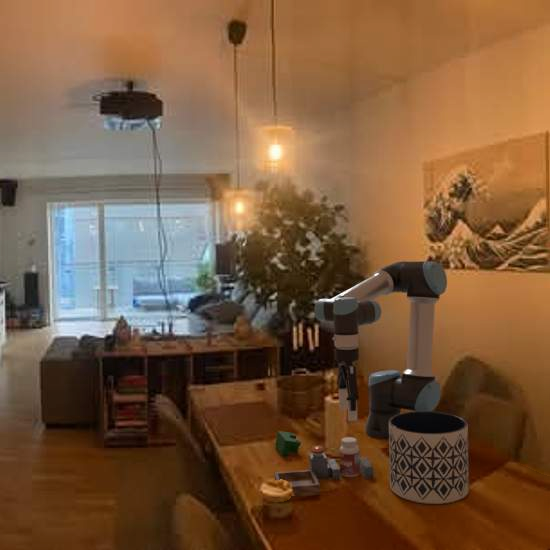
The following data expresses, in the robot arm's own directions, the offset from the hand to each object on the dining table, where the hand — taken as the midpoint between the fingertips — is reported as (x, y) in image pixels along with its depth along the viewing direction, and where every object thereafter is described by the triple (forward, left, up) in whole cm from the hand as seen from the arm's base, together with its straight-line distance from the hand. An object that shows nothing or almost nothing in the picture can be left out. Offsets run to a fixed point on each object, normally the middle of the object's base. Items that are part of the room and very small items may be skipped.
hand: (348, 414), depth 200 cm
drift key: (+10, 0, -17) cm, 20 cm away
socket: (+3, 0, -19) cm, 19 cm away
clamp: (+16, -25, -19) cm, 36 cm away
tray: (+18, +8, -19) cm, 27 cm away
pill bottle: (0, 0, -19) cm, 19 cm away
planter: (-20, +16, -19) cm, 32 cm away
